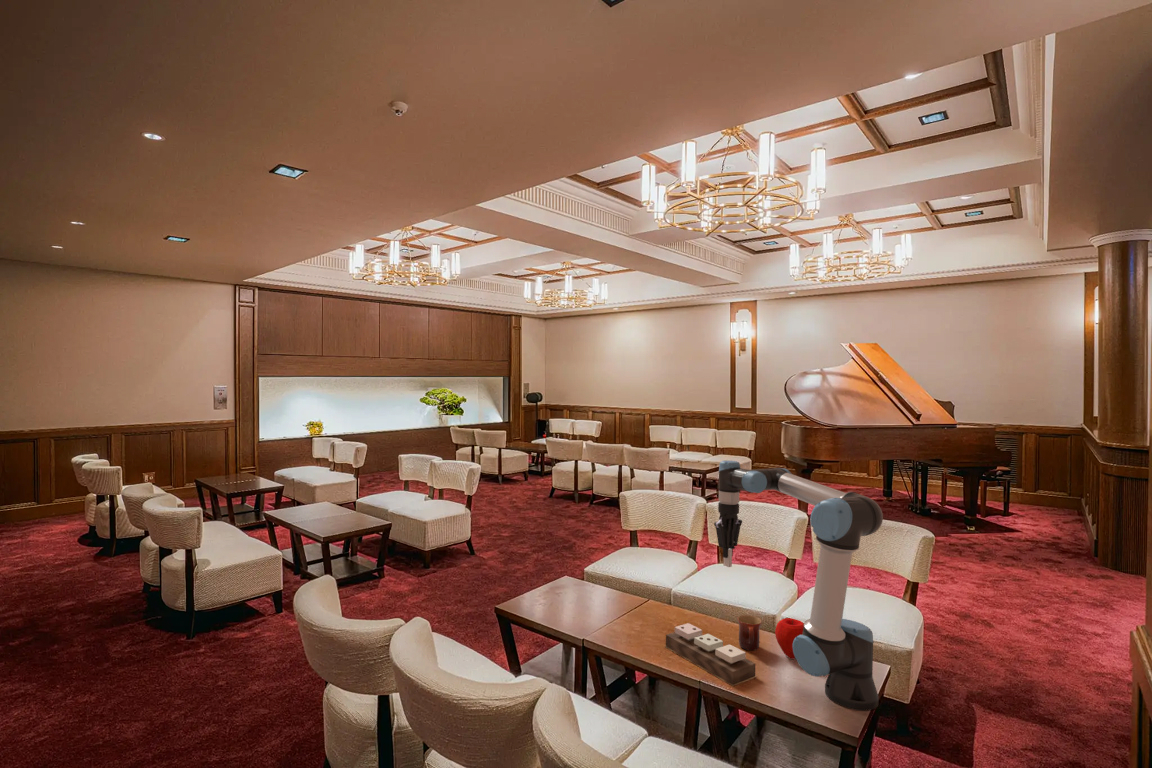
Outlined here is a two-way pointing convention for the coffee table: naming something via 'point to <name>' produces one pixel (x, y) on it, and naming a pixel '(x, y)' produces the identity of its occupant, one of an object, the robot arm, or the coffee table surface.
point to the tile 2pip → (688, 631)
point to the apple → (788, 634)
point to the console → (711, 661)
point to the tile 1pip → (730, 654)
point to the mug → (749, 632)
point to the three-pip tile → (708, 642)
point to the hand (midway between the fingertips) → (727, 565)
